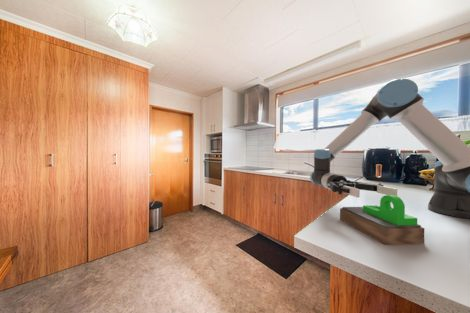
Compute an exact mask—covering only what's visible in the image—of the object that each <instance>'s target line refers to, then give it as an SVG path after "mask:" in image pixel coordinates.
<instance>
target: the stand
mask: <svg viewBox="0 0 470 313" xmlns="http://www.w3.org/2000/svg"><path fill="white" fill-rule="evenodd" d="M339 220H340V221H342V222H344V223H345V224H347V225H349V226H351V227H353V228H354V229H356V230H358V231H360V232H362V233H364V234H365V235H367V236H369V237H371V238H372V239H374V240H376V241H377V242H379V243H381V244H384V245H385V246H388V245H393V246H395V245H415V243H422V244H425V227H422V224H421V225H420V224H419V223H417V225H396V224H393V223H391V222H388V221H386V220H383V219H381V218H379V217H376V216H374V215H371V214H369V213H367V212H364V211H363V206H342V207H340V208H339Z"/></svg>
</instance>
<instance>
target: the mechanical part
mask: <svg viewBox="0 0 470 313" xmlns="http://www.w3.org/2000/svg"><path fill="white" fill-rule="evenodd" d="M379 202H380V203H379V204H380V205H363V206H362V207H363V211H364V212H367V213H369V214H371V215H374V216H376V217H379V218H381V219H383V220H386V221H388V222H391V223H393V224H396V225H417V224H418V217H414V216H411V215H409V214H406V213H405V212H406V211H405V209H406V206H405V203H404V201H403V199H402V198H401V197H400V196H398V195H397V196H395V195H385V194H384V195H383V196H382V197H381V198H380V201H379ZM391 204H392V205H391ZM392 206H393V207H392Z"/></svg>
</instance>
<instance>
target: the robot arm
mask: <svg viewBox="0 0 470 313" xmlns="http://www.w3.org/2000/svg"><path fill="white" fill-rule="evenodd" d="M418 87H419V86H418V85H417V83H416V82H415V81H413V80H411V79H409V78H395V79H392V80H390V81H388V82H386V83H385V84H384V85H382V86H381V87H380V88H379V89H378V90H377V91H376V93H375V94H374V96H373V97H372V98H371V100H370V101H369V102H368V103H367V105H366V106H365V108H363V110H361V112H360V115H358V117H357V118H356V119H355V120H353V121H352V122H351V123H350V124H349V125H348V126H347V127H346V128H345V129H344V130H343V131H341V133H340V134H338V136H336V137H335V138H334V139H333V140H332V141H331V142H330V143H329V144H328V145H327V146H326V147H325V148H321V149H320V148H319V149H318V148H317V149H315V150H314V152H313V153H314V154H313V171H312V172H311V173H310V176H309V179H310V182H311V183H312V184H314V185H316V186H318V187H323V188H325V189H328V190H329V191H332V192H333V193H338V195H343V194H345V195H349V196H352V197H355V198H360V191H370V192H376V193H378V194H381V195H384V196H385V195H395V196H398V188H394V187H388V186H384V184H382V183H380V182H378V184H377V183H371V182H361V181H357V180H356V181H355V180H350V179H347V178H346V176H344V175H341V174H336V173H333V172H332V173H331V162H332V161H333V160H334V159H335V158H336V157H337V156H339V155H340V154H341V153H342V152H344V150H346V149H347V148H348V147H349V146H350V145H352V143H354V142H355V141H356V140H357V139H358V138H359V137H360V136H362V135H363V134H364V133H366V131H367V130H368V129H369V128H371V126H373V125H374V124H376V123H377V124H378V123H379V122H381V121H382V120H383V119H384V118H386V117H388V118H390V119H391V120H398V122H399V123H401V124H402V125H403V127H405V128H406V129H407V130H408V131H409V132H410V134H412V135H413V137H415V138H416V139H417V140H418V141H419V142H420V143H421V144H422V145H423V146H424V147H425V148H426V149H427V150H428V151H429V152H430V153H431V154H432V155H433V156H434V157H435V158H436V159H438V161H436V162H435V164H434V167H433V170H434V177H433V178H434V180H433V181H434V182H433V184H434V185H433V187H434V188H433V189H434V190H433V194H432V196H431V198H430V200H429V202H428V204H427V209H428V210H430V211H431V212H434V213H437V214H438V213H439V214H441V215H446V216H451V217H457V218H461V219H462V218H463V219H470V146H468V144H467V143H465V141H463V140H462V139H461V138H460V137H459V136H457V135H456V134H455V133H454V132H453V131H452V130H451V129H450V128H449V127H447V125H445V123H443V122H442V121H441V120H440V119H439V118H438V117H436V116H435V114H434V113H432V112H431V111H430V110H429V109H428V108H427V107H425V105H423V103H424V100H425V99H424V97H422V96H421V95H420V93H418V92H419V88H418Z"/></svg>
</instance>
